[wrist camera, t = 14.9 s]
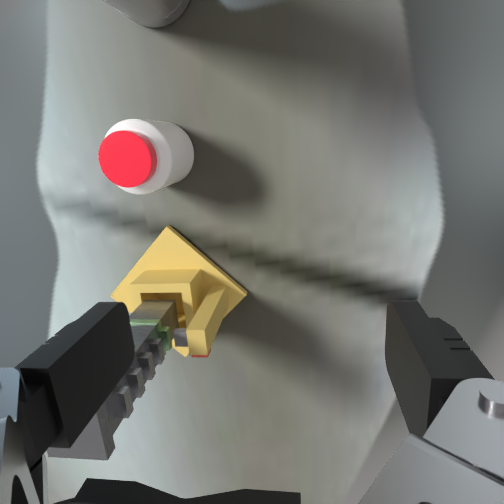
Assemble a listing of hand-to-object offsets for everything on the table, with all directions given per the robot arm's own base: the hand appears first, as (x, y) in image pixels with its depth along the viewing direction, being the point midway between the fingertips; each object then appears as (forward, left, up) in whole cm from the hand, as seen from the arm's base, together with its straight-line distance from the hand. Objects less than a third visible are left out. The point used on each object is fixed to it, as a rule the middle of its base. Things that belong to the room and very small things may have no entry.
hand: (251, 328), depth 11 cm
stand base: (-1, -22, -36) cm, 42 cm away
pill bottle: (-14, -8, -36) cm, 40 cm away
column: (-1, -22, -30) cm, 37 cm away
